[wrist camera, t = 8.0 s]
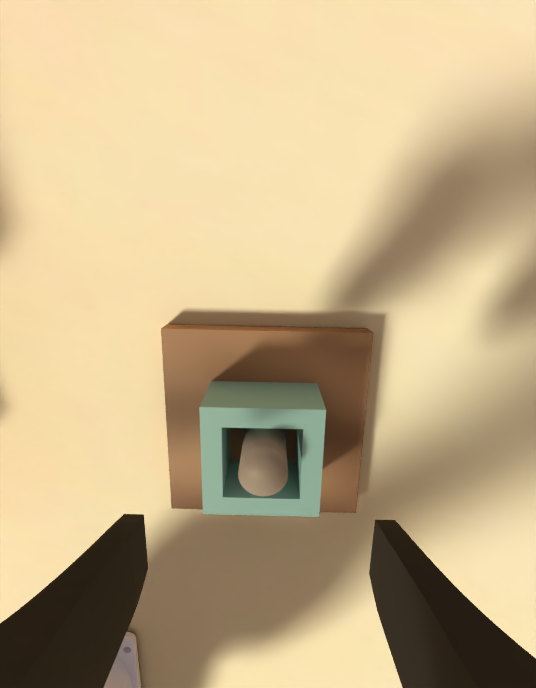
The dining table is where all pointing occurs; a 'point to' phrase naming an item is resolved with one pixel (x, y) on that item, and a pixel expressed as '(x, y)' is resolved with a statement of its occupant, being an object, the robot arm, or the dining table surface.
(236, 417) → the collar
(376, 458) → the dining table surface
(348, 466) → the post block
